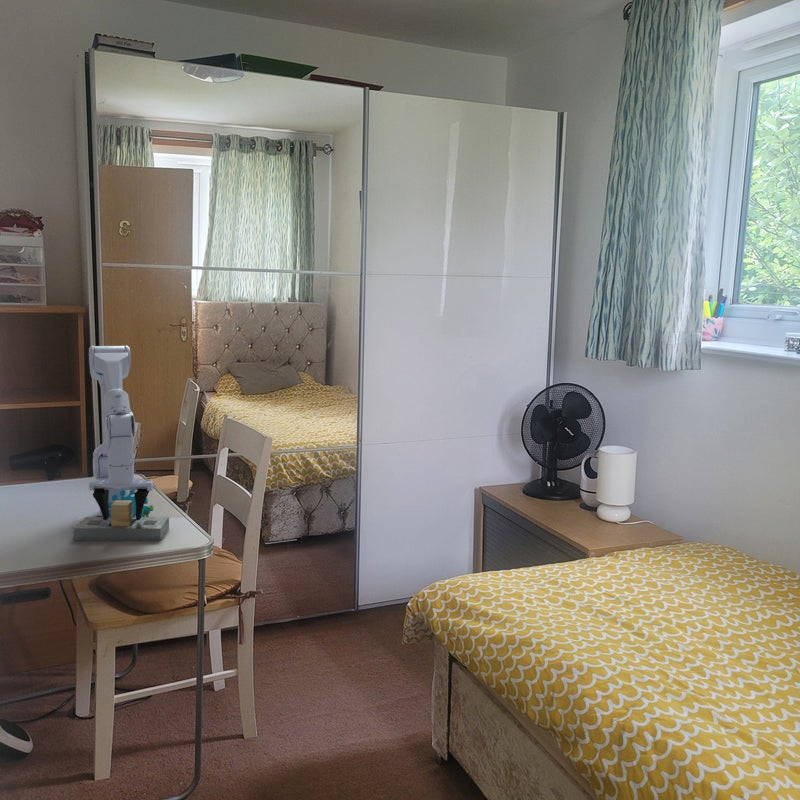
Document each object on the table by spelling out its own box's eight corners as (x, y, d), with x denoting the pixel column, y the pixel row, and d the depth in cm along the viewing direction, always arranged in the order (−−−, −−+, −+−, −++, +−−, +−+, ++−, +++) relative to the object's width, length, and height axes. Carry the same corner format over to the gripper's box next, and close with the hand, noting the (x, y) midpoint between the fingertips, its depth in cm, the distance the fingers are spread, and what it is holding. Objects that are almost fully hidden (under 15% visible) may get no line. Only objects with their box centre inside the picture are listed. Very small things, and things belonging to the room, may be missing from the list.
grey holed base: (86, 528, 189) (85, 516, 188) (169, 528, 190) (168, 516, 190) (73, 540, 180) (73, 527, 179) (160, 540, 181) (160, 528, 181)
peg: (116, 532, 187) (115, 500, 186) (133, 532, 187) (132, 500, 186) (111, 537, 183) (110, 505, 182) (128, 537, 183) (128, 505, 182)
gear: (102, 520, 190) (112, 485, 196) (104, 531, 195) (114, 496, 201) (148, 525, 192) (156, 490, 198) (149, 535, 197) (157, 501, 203)
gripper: (84, 467, 178) (86, 523, 180) (147, 468, 179) (149, 524, 181) (93, 460, 185) (95, 515, 187) (155, 461, 186) (156, 515, 188)
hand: (122, 518), depth 185 cm, fingers open, 7 cm apart
